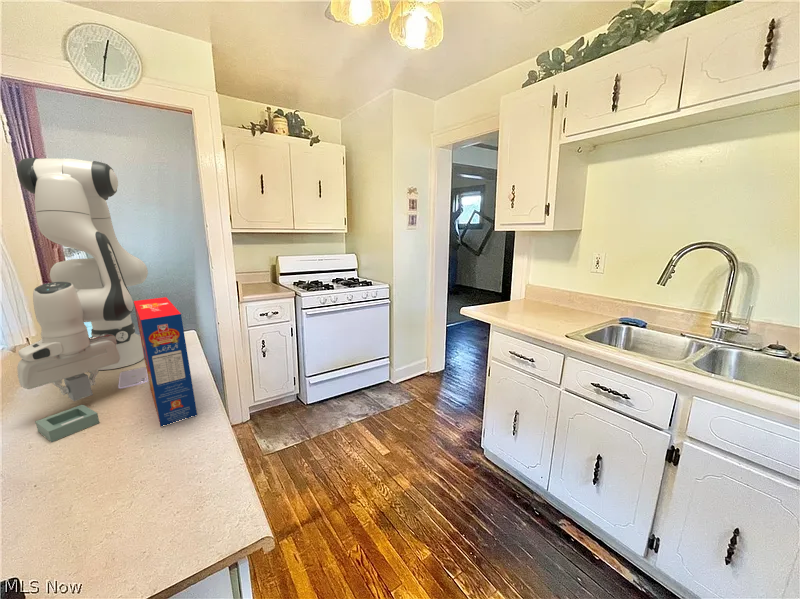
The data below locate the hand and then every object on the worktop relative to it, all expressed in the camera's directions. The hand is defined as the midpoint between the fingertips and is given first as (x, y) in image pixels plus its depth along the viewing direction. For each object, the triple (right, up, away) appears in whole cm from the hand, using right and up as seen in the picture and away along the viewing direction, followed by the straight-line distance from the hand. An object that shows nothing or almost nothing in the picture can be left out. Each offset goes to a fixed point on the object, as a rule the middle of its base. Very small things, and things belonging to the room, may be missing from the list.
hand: (79, 389), depth 94 cm
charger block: (0, -2, 0) cm, 2 cm away
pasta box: (+24, -4, +3) cm, 25 cm away
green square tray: (+7, -7, -9) cm, 13 cm away
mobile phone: (+1, -2, +19) cm, 19 cm away
